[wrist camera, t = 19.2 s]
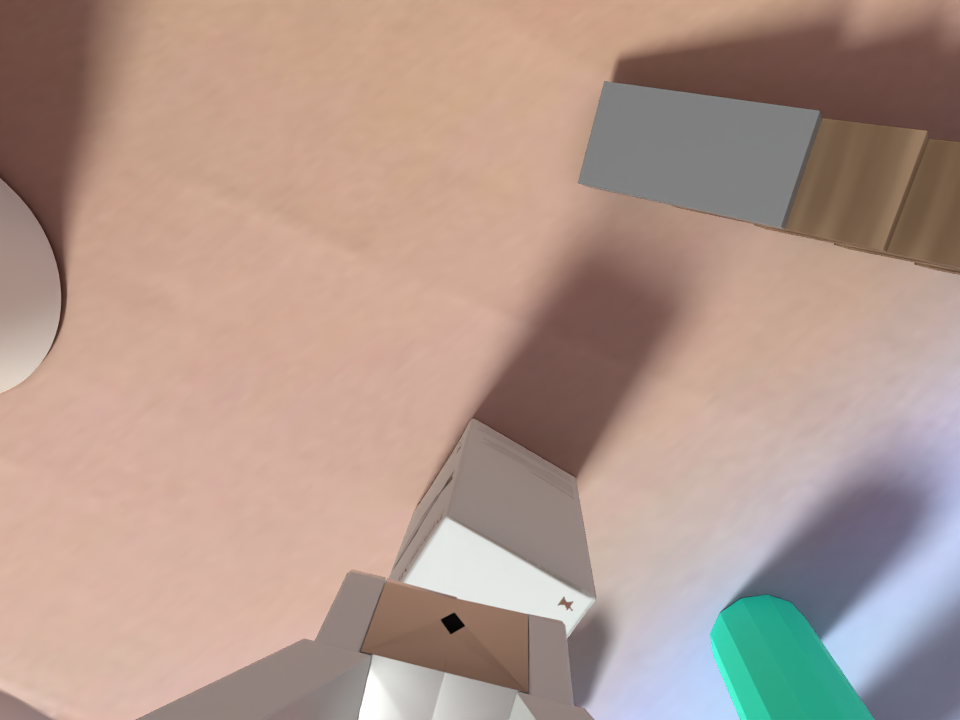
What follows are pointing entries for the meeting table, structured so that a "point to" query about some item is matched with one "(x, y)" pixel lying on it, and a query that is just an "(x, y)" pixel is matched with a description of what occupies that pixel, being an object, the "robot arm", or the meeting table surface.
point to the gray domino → (700, 151)
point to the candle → (780, 665)
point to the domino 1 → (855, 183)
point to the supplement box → (501, 532)
